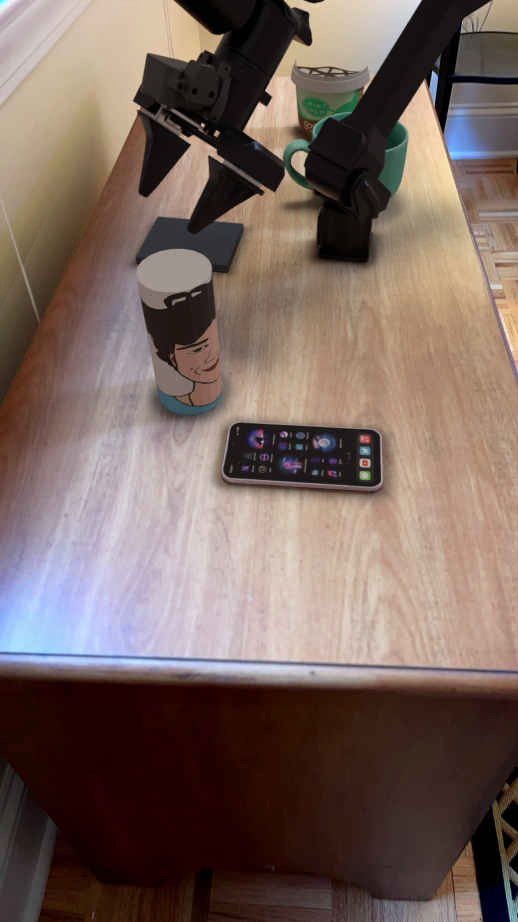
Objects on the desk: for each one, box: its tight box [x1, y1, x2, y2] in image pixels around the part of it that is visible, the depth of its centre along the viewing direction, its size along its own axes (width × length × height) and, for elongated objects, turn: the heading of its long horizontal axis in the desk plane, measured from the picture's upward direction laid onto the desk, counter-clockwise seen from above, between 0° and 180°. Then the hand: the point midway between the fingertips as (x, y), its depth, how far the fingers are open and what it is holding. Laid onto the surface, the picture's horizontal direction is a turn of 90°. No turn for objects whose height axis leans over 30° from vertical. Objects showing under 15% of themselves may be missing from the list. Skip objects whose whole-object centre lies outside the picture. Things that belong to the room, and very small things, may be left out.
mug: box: [282, 112, 409, 200], centre depth 94 cm, size 17×13×10 cm
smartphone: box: [221, 421, 384, 492], centre depth 66 cm, size 8×1×15 cm
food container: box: [290, 59, 371, 142], centre depth 107 cm, size 12×6×10 cm, turn 73°
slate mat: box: [135, 216, 245, 273], centre depth 90 cm, size 12×10×1 cm
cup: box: [135, 249, 223, 416], centre depth 67 cm, size 7×7×15 cm
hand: (165, 213), depth 70 cm, fingers open, 9 cm apart
